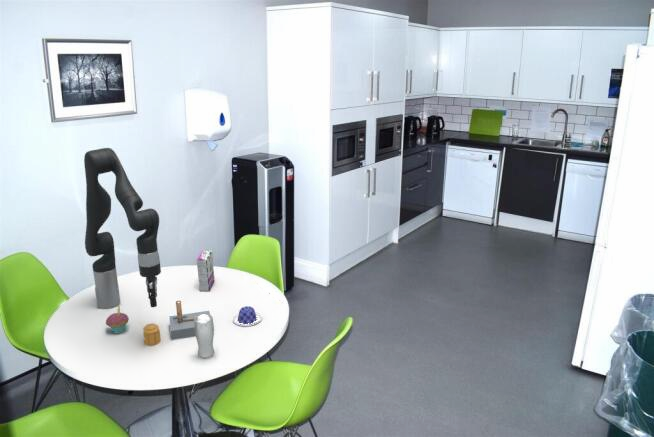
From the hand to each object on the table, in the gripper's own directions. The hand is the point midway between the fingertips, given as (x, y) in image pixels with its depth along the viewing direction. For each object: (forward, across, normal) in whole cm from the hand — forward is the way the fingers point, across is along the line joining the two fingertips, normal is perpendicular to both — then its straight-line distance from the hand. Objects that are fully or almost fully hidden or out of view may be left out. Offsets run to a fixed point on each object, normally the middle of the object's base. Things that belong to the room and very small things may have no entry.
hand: (154, 301), depth 198 cm
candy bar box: (+16, -44, +22) cm, 52 cm away
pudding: (+18, -7, +36) cm, 40 cm away
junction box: (+17, -6, +13) cm, 22 cm away
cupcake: (+17, -13, -16) cm, 26 cm away
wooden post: (+13, -5, +9) cm, 16 cm away
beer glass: (+18, +14, +17) cm, 28 cm away
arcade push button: (+17, 0, -2) cm, 17 cm away
